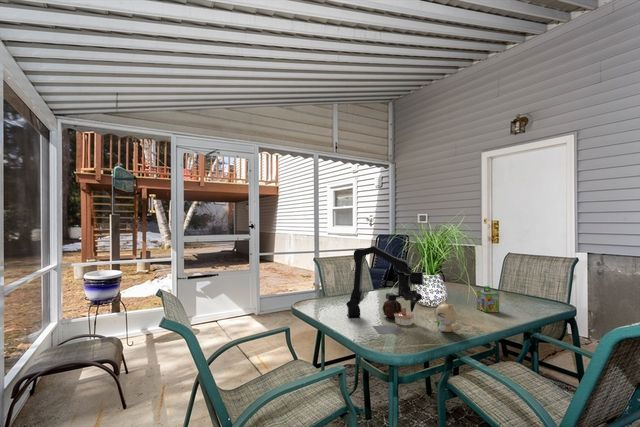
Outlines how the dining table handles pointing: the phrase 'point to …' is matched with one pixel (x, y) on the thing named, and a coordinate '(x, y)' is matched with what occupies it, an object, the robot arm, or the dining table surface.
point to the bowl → (403, 321)
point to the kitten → (446, 317)
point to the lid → (404, 314)
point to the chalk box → (487, 300)
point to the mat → (387, 329)
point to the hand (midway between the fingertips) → (403, 312)
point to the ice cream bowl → (391, 309)
